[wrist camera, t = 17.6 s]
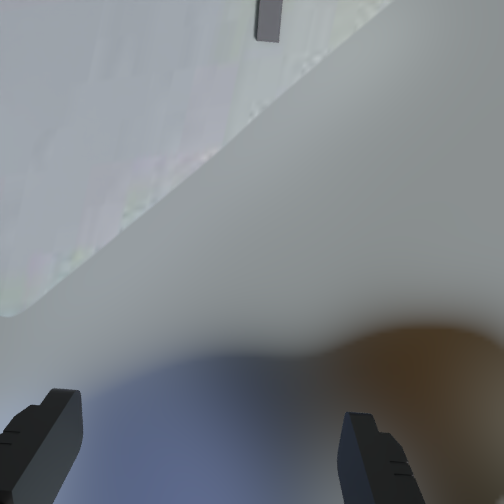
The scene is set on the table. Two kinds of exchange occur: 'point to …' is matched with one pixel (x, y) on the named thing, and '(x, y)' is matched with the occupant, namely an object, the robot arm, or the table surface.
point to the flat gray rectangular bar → (269, 20)
